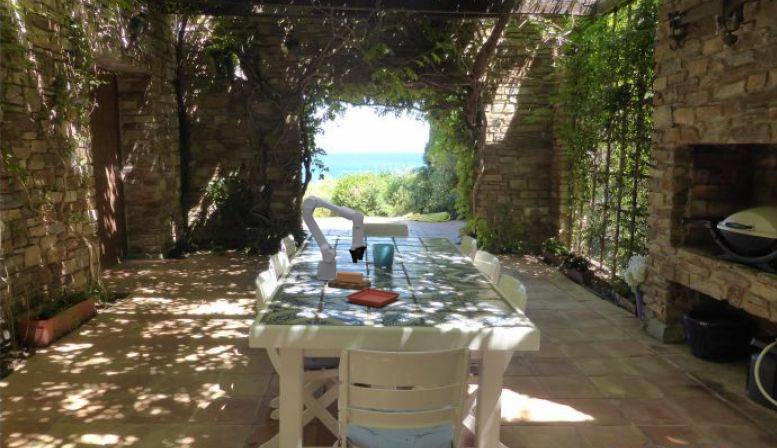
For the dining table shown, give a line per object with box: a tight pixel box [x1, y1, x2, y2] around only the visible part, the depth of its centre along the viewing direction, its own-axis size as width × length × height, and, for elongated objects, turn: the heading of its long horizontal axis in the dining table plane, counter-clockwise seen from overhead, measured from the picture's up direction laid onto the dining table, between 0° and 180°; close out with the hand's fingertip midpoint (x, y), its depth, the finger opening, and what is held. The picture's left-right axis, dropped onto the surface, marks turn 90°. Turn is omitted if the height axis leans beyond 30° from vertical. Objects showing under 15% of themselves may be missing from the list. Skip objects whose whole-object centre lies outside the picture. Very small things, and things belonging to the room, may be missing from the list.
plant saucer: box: [345, 287, 401, 308], centre depth 245 cm, size 18×18×3 cm
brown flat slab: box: [327, 278, 372, 291], centre depth 269 cm, size 19×9×2 cm, turn 72°
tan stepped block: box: [337, 270, 364, 284], centre depth 269 cm, size 12×4×7 cm, turn 72°
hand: (357, 261), depth 284 cm, fingers open, 7 cm apart
